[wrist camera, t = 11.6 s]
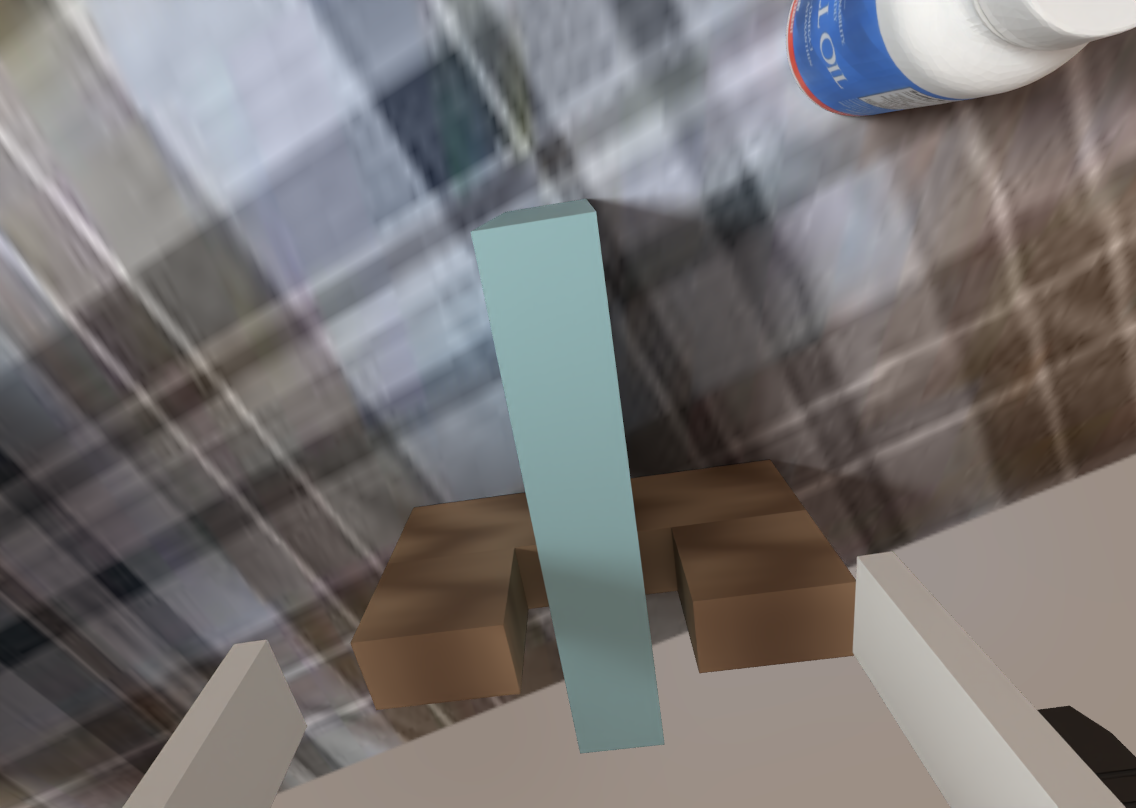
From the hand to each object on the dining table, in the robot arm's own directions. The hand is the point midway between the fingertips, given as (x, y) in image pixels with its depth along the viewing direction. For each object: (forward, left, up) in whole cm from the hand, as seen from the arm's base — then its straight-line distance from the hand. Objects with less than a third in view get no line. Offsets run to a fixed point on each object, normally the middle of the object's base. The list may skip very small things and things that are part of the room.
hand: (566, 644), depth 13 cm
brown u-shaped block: (0, -5, -12) cm, 13 cm away
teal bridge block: (+1, 0, -12) cm, 12 cm away
